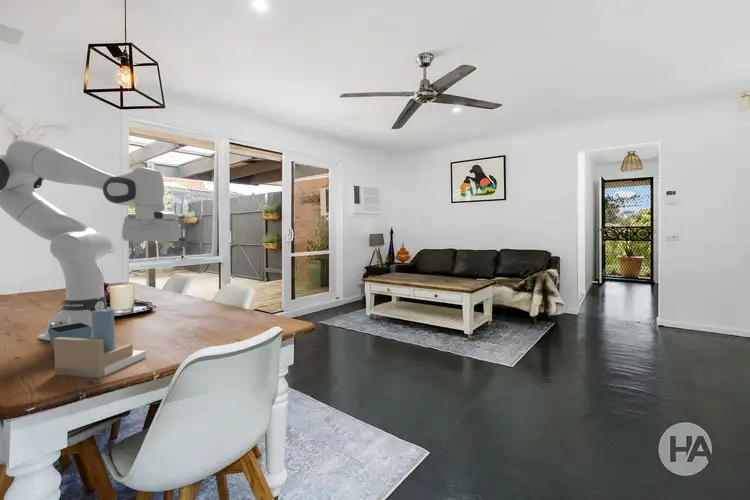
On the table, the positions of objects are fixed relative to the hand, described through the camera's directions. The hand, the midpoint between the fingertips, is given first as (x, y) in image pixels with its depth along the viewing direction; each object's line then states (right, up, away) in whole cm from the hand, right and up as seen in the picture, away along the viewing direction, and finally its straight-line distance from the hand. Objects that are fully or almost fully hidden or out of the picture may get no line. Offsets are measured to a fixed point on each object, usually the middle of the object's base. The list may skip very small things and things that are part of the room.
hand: (151, 254), depth 127 cm
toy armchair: (-1, -32, -21) cm, 39 cm away
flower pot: (-17, -32, -13) cm, 39 cm away
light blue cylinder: (-1, -30, -21) cm, 37 cm away
